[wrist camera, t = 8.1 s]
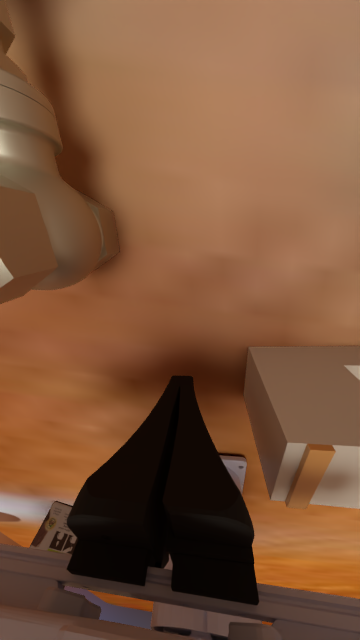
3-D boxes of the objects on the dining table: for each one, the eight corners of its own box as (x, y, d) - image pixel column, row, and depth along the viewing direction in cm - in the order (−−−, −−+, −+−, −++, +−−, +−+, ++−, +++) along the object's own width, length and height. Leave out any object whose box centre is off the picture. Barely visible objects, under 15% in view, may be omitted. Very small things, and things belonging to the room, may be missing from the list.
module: (339, 398, 13) (442, 523, 7) (243, 395, 14) (271, 505, 8) (361, 346, 11) (525, 463, 5) (248, 346, 12) (290, 448, 6)
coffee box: (53, 499, 27) (-114, 803, 13) (94, 512, 28) (-21, 816, 13) (48, 518, 31) (-82, 765, 17) (84, 529, 32) (-12, 776, 17)
